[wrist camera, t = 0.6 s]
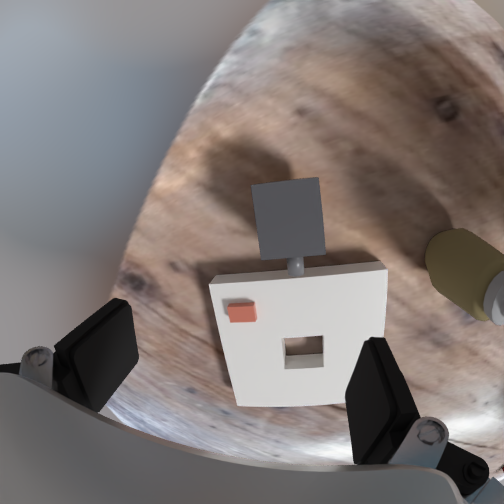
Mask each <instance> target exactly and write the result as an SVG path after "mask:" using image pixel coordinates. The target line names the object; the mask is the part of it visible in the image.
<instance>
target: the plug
mask: <svg viewBox="0 0 504 504" xmlns="http://www.w3.org/2000/svg"><path fill="white" fill-rule="evenodd" d="M251 191H252V198H253V205H254V212H255V219H256V226H257V233H258V241H259V248H260V255H261V260H271V259H282V258H286V259H287V268H288V275H289V276H292V277H297V276H301V275H303V274H304V273H305V272H304V261H303V257H304V256H315V255H326V250H325V237H324V225H323V214H322V204H321V195H320V186H319V178H318V177H312V178H302V179H293V180H284V181H275V182H267V183H259V184H254V185H251Z"/></svg>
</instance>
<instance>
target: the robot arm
mask: <svg viewBox="0 0 504 504" xmlns="http://www.w3.org/2000/svg"><path fill="white" fill-rule="evenodd" d="M54 348H55V350H56V352H54V353H53V352H52V351H51V350H50V349H49V348H47V347H42V346H41V347H40V346H38V347H34V348H31V349H29V350H28V351H26V352H25V353H24V355H23V357H22V360H21V363H12V364H2V365H0V504H504V486H503V485H502V484H501V483H500V482H499V481H498V480H496V479H495V478H494V477H492V478H491V479H490V478H489V467H488V465H487V463H486V462H485V461H484V460H483V459H482V458H480V457H478V456H476V455H474V454H472V453H470V452H468V451H466V450H464V449H462V448H460V447H458V446H456V445H454V444H452V443H450V442H448V438H449V432H448V429H447V427H446V425H445V424H444V423H443V422H442V421H440V420H439V419H437V418H434V417H422V418H421V417H420V415H419V412H418V410H417V407H416V405H415V402H414V400H413V397H412V395H411V392H410V390H409V388H408V385H407V383H406V381H405V378H404V376H403V374H402V372H401V371H400V369H399V367H398V365H397V363H396V361H395V358H394V356H393V354H392V352H391V350H390V348H389V345H388V343H387V341H386V339H385V338H384V337H370V338H369V339H368V340H365V341H364V343H363V346H362V349H361V351H360V354H359V357H358V360H357V363H356V365H355V368H354V371H353V373H352V376H351V378H350V381H349V383H348V386H347V388H346V391H345V402H346V409H347V415H348V422H349V429H350V436H351V444H352V453H353V461H354V464H358V465H302V464H287V463H276V462H267V461H259V460H252V459H245V458H239V457H234V456H228V455H223V454H218V453H214V452H209V451H205V450H201V449H197V448H193V447H189V446H185V445H182V444H178V443H175V442H172V441H168V440H165V439H162V438H159V437H156V436H153V435H150V434H147V433H144V432H142V431H139V430H136V429H134V428H131V427H129V426H126V425H124V424H121V423H119V422H116V421H114V420H112V419H109V418H107V417H105V416H103V415H101V414H98V412H100V410H101V409H102V408H103V407H104V405H105V404H106V403H107V401H108V400H109V399H110V397H111V396H112V395H113V393H114V392H115V391H116V390H117V388H118V387H119V386H120V384H121V383H122V382H123V380H124V379H125V378H126V377H127V375H128V374H129V373H130V371H131V370H132V369H133V368H134V366H135V365H136V364H137V362H138V359H139V354H138V348H137V342H136V336H135V330H134V323H133V315H132V308H131V306H130V305H129V303H128V302H127V301H126V300H122V299H118V298H113V299H112V300H111V301H109V302H108V303H107V304H105V305H104V306H103V307H102V308H100V309H99V310H98V311H96V312H95V313H94V314H93V315H91V316H90V317H89V318H87V319H86V320H85V321H84V322H82V323H81V324H80V325H79V326H77V327H76V328H75V329H74V330H72V331H71V332H70V333H69V334H68V335H66V336H65V337H64V338H63V339H61V341H59V342H58V343H57V344H56V345H54Z"/></svg>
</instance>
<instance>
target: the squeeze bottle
mask: <svg viewBox="0 0 504 504" xmlns="http://www.w3.org/2000/svg"><path fill="white" fill-rule="evenodd" d="M425 263H426V266H427V269H428V273H429V276H430V279H431V282H432V285H433V286H434V287H435V288H436V290H437V291H438V292H439V293H441V294H442V295H443V296H445V297H446V298H448V299H449V300H451V301H452V302H453V303H455V304H456V305H458V306H459V307H460V308H462V309H463V310H464V311H466V312H467V313H468V314H470V315H471V316H472V317H474V318H475V319H476V320H480V321H487V320H491V321H492V322H493V323H494V324H496V325H503V324H504V254H502V253H501V252H500V251H498V250H497V249H495V248H494V247H493V246H491V245H490V244H488V243H487V242H485V241H484V240H482V239H481V238H480V237H478V236H477V235H475V234H473V233H472V232H470V231H468V230H466V229H463V228H460V229H452V230H448V231H443V232H440V233H438V234H437V235H435V236H434V237H433V238H432V239H431V241H430V242H429V244H428V246H427V249H426V252H425Z"/></svg>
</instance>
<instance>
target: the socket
mask: <svg viewBox="0 0 504 504" xmlns="http://www.w3.org/2000/svg"><path fill="white" fill-rule="evenodd" d="M304 272H305V273H304V274H303V275H301V276H297V277H292V276H289V275H288V270H277V271H264V272H252V273H238V274H224V275H216V276H215V277H214V278H213V280H212V281H211V282H210V283H209V288H210V293H211V298H212V302H213V307H214V312H215V316H216V321H217V325H218V329H219V334H220V338H221V342H222V346H223V351H224V355H225V359H226V363H227V367H228V371H229V375H230V379H231V383H232V386H233V390H234V394H235V398H236V401H237V405H238V406H256V407H289V406H312V405H327V404H338V403H346V402H345V391H346V388H347V386H348V383H349V381H350V378H351V376H352V373H353V371H354V368H355V365H356V363H357V360H358V357H359V354H360V351H361V349H362V346H363V343H364V341H365V340H368V339H369V338H370V337H383V336H384V326H385V315H386V301H387V280H388V269H387V268H386V267H385V265H384V264H383V263H382V262H381V261H374V262H365V263H355V264H344V265H334V266H323V267H312V268H304ZM321 335H322V343H323V353H321V354H308V355H290V356H286V349H285V339H284V338H293V337H308V336H321Z"/></svg>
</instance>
